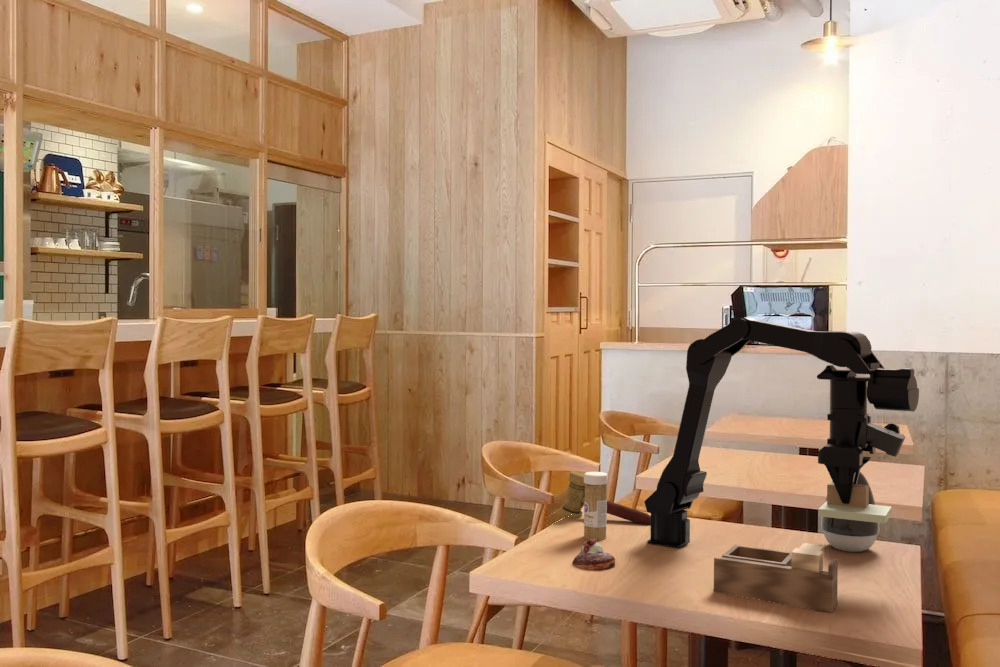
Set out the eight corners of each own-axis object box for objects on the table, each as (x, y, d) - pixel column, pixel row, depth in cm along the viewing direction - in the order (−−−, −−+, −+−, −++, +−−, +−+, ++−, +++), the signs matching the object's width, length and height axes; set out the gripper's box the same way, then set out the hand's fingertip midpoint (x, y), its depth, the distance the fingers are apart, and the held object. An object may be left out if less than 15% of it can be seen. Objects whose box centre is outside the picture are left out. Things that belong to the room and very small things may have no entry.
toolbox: (713, 593, 139) (714, 549, 139) (735, 573, 149) (735, 532, 149) (832, 612, 130) (832, 565, 130) (845, 590, 141) (846, 547, 140)
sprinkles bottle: (578, 541, 171) (579, 472, 171) (596, 538, 173) (597, 470, 173) (593, 546, 167) (594, 475, 167) (612, 543, 169) (612, 473, 169)
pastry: (584, 560, 158) (584, 533, 158) (623, 567, 154) (623, 538, 154) (563, 571, 151) (564, 542, 151) (603, 578, 147) (604, 548, 147)
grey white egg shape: (817, 551, 164) (818, 470, 164) (824, 539, 174) (825, 462, 173) (876, 558, 160) (877, 475, 159) (881, 545, 169) (882, 466, 169)
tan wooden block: (791, 570, 133) (791, 552, 133) (800, 560, 139) (800, 542, 139) (818, 574, 131) (819, 555, 131) (827, 563, 137) (827, 545, 137)
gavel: (656, 544, 184) (668, 499, 183) (652, 550, 180) (665, 503, 179) (562, 513, 191) (573, 469, 190) (556, 517, 186) (568, 472, 185)
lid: (818, 516, 142) (818, 489, 142) (827, 507, 149) (827, 481, 149) (885, 523, 137) (885, 495, 137) (891, 513, 144) (891, 487, 144)
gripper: (894, 415, 134) (893, 518, 134) (907, 405, 150) (907, 497, 150) (817, 411, 139) (817, 510, 139) (838, 402, 155) (837, 490, 156)
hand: (847, 501), depth 146 cm, fingers closed on lid, 3 cm apart
